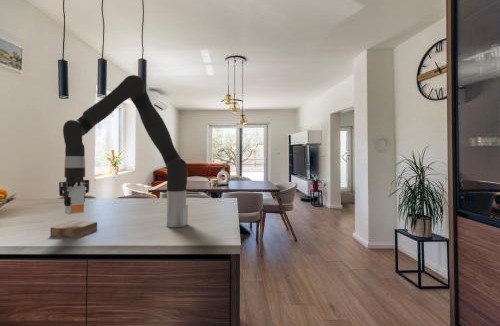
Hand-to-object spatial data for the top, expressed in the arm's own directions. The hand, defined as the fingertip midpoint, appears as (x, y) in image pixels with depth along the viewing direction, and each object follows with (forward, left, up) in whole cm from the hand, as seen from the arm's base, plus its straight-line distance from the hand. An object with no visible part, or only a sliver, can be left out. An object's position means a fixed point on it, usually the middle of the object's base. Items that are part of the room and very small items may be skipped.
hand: (75, 204), depth 114 cm
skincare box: (0, 0, -4) cm, 4 cm away
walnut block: (0, 0, -13) cm, 13 cm away
